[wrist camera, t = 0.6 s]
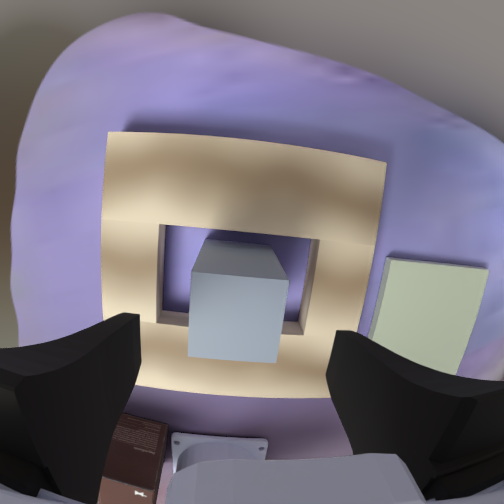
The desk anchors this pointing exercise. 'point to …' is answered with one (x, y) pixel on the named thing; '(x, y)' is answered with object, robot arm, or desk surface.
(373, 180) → the pocket board
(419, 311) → the tile
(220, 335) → the slate block
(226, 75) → the desk surface
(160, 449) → the box
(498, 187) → the desk surface
